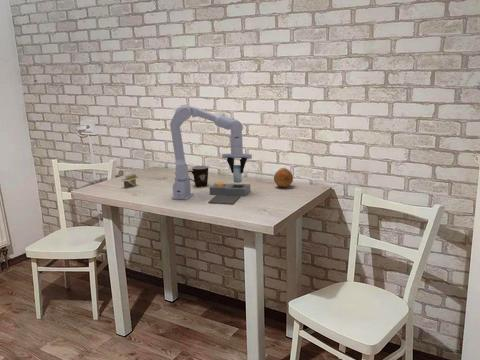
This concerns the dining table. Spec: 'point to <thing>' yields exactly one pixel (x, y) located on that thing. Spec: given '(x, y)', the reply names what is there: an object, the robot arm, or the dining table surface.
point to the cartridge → (237, 173)
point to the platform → (130, 181)
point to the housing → (230, 189)
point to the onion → (283, 177)
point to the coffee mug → (200, 175)
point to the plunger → (220, 184)
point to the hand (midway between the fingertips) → (237, 172)
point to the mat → (224, 199)
